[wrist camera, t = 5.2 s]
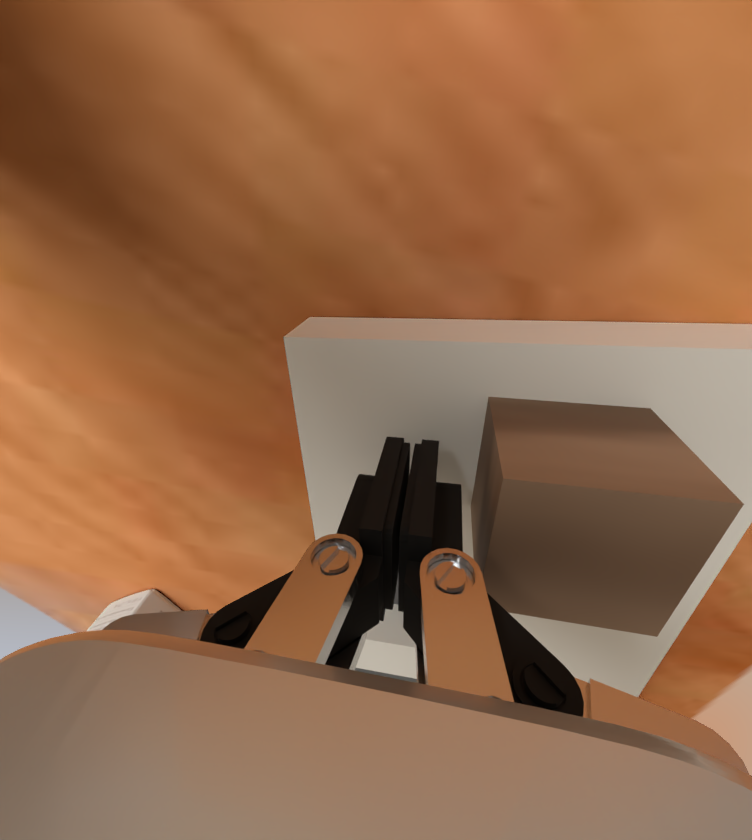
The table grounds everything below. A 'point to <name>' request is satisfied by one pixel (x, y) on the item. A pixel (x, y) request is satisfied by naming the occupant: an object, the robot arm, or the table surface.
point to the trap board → (464, 421)
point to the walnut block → (592, 513)
